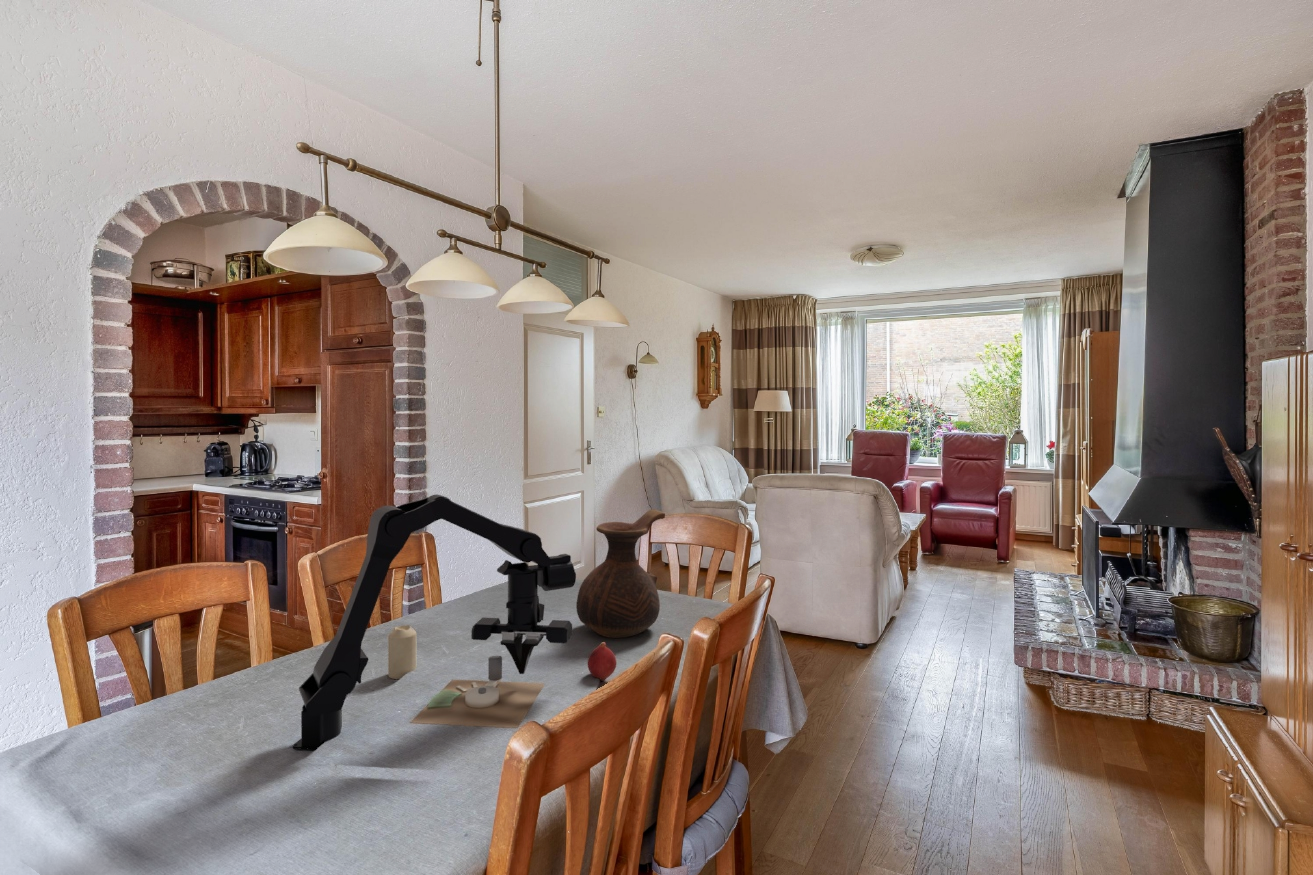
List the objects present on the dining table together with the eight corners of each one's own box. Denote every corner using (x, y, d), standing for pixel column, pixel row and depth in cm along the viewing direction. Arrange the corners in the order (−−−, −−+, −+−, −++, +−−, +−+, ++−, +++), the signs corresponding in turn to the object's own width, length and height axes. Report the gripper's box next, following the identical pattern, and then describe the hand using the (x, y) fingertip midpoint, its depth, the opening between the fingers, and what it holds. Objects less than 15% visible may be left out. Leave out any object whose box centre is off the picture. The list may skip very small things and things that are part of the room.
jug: (653, 646, 158) (655, 520, 157) (565, 641, 161) (566, 517, 160) (666, 619, 179) (668, 508, 178) (588, 614, 182) (589, 505, 181)
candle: (406, 680, 136) (406, 632, 136) (382, 678, 137) (382, 630, 137) (421, 670, 142) (421, 623, 141) (398, 668, 143) (398, 622, 142)
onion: (590, 687, 133) (590, 648, 133) (585, 676, 139) (585, 638, 139) (618, 684, 135) (619, 645, 135) (612, 674, 141) (613, 636, 140)
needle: (492, 708, 120) (492, 679, 120) (460, 706, 121) (460, 677, 121) (512, 682, 132) (512, 655, 132) (482, 681, 133) (482, 654, 132)
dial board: (517, 734, 113) (517, 725, 113) (409, 729, 115) (409, 720, 115) (545, 689, 132) (545, 681, 132) (452, 685, 134) (452, 677, 134)
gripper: (578, 585, 137) (577, 660, 138) (489, 582, 139) (489, 656, 139) (566, 600, 126) (565, 681, 127) (470, 596, 128) (470, 677, 128)
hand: (522, 673), depth 131 cm, fingers closed
